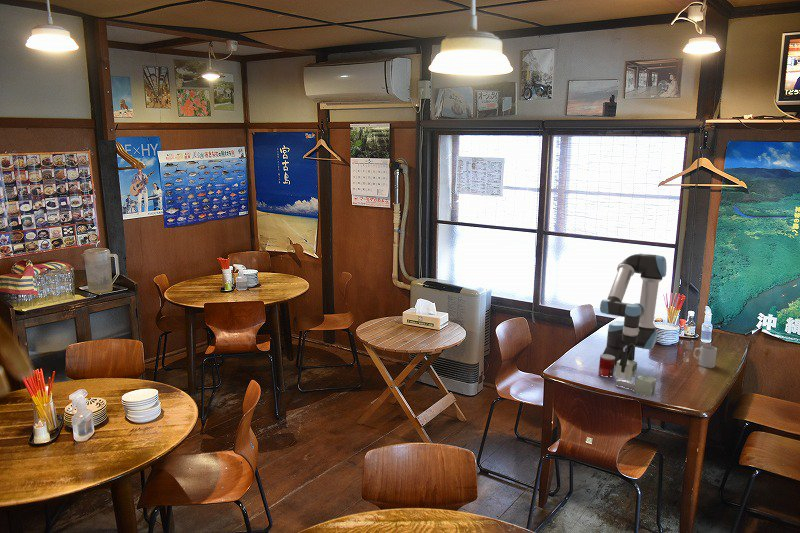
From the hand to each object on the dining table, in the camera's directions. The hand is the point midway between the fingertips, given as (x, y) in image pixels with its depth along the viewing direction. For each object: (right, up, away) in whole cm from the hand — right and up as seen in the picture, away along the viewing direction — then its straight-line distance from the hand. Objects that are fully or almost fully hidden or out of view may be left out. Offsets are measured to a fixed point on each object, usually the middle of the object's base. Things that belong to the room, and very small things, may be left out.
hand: (625, 375), depth 326 cm
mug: (+60, 0, +39) cm, 71 cm away
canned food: (-4, -3, +18) cm, 19 cm away
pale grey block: (+4, -7, -1) cm, 8 cm away
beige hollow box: (0, 0, 0) cm, 0 cm away
